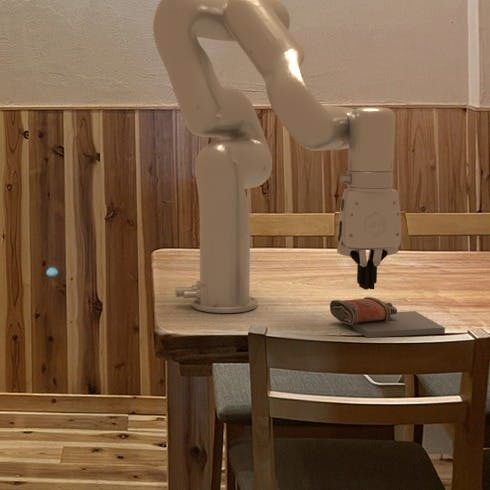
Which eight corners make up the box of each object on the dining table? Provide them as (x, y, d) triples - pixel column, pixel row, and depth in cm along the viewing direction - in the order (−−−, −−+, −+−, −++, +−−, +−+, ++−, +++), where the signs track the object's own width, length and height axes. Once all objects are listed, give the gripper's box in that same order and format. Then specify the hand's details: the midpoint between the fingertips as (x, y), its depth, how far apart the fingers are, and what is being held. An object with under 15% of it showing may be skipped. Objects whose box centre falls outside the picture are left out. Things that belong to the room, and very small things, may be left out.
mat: (366, 337, 133) (367, 331, 133) (342, 319, 144) (342, 314, 144) (444, 333, 136) (444, 327, 136) (414, 316, 147) (415, 311, 147)
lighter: (353, 328, 136) (402, 322, 139) (354, 308, 135) (403, 303, 139) (329, 315, 143) (377, 310, 147) (330, 296, 142) (378, 292, 146)
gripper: (335, 183, 130) (332, 294, 133) (420, 183, 133) (416, 290, 136) (321, 180, 137) (318, 285, 140) (402, 179, 140) (398, 282, 143)
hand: (366, 287), depth 138 cm, fingers closed
